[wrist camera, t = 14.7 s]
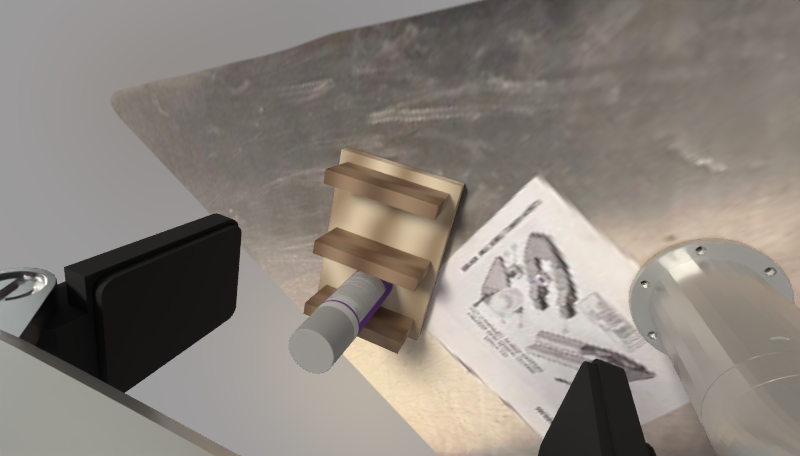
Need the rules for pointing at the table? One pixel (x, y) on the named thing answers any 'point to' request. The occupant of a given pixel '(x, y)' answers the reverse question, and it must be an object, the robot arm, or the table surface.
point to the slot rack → (386, 239)
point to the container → (337, 322)
